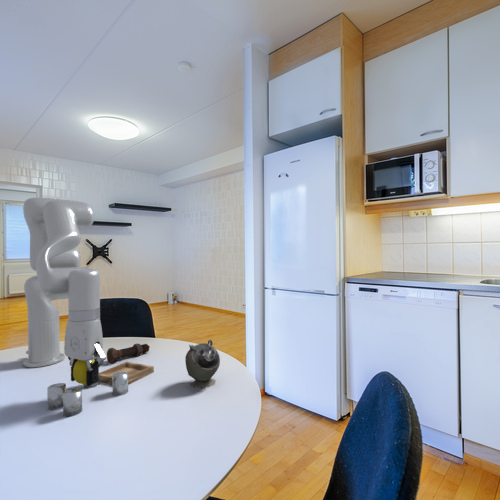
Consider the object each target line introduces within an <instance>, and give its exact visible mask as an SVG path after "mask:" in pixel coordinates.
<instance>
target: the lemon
mask: <svg viewBox="0 0 500 500" xmlns="http://www.w3.org/2000/svg"><path fill="white" fill-rule="evenodd" d="M91 362H92V364H93V363H94V359H93V360H91ZM86 371H88V366H87V362H86V361H81V360H77V361H76V363H75V365H74V368H73V377H74V379H75V381H74V382H76V383H78V384H81V385H82V386H84V385H86Z"/></svg>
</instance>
